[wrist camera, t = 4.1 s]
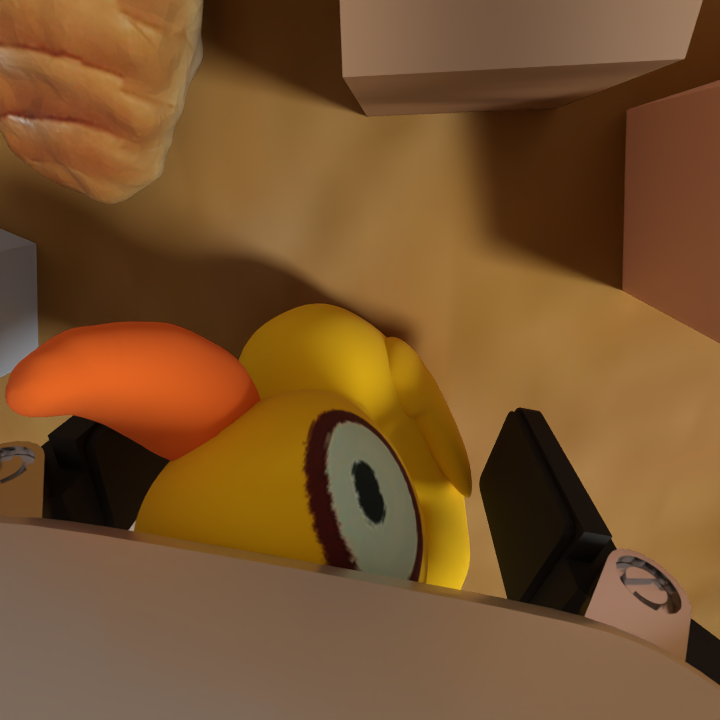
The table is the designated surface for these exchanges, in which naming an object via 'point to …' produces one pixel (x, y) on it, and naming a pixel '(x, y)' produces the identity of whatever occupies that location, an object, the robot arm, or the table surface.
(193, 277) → the table surface
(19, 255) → the block slate
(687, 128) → the block terracotta
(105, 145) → the pastry
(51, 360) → the duckling
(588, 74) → the block walnut
